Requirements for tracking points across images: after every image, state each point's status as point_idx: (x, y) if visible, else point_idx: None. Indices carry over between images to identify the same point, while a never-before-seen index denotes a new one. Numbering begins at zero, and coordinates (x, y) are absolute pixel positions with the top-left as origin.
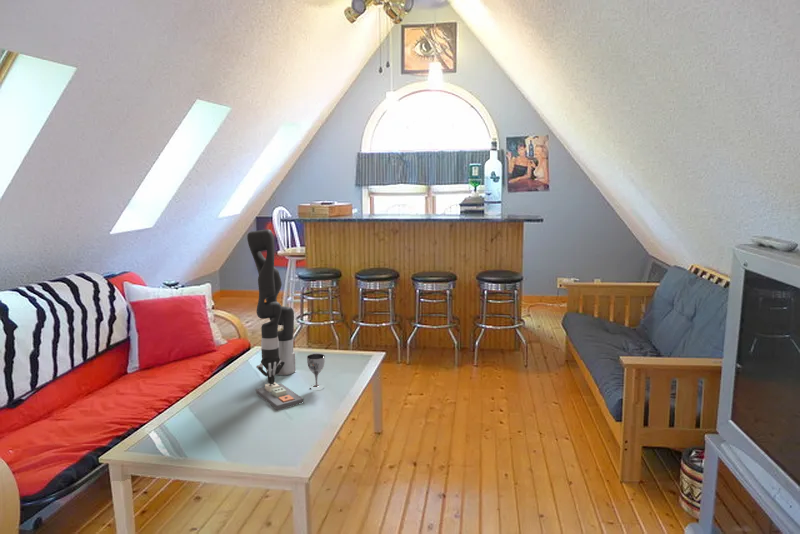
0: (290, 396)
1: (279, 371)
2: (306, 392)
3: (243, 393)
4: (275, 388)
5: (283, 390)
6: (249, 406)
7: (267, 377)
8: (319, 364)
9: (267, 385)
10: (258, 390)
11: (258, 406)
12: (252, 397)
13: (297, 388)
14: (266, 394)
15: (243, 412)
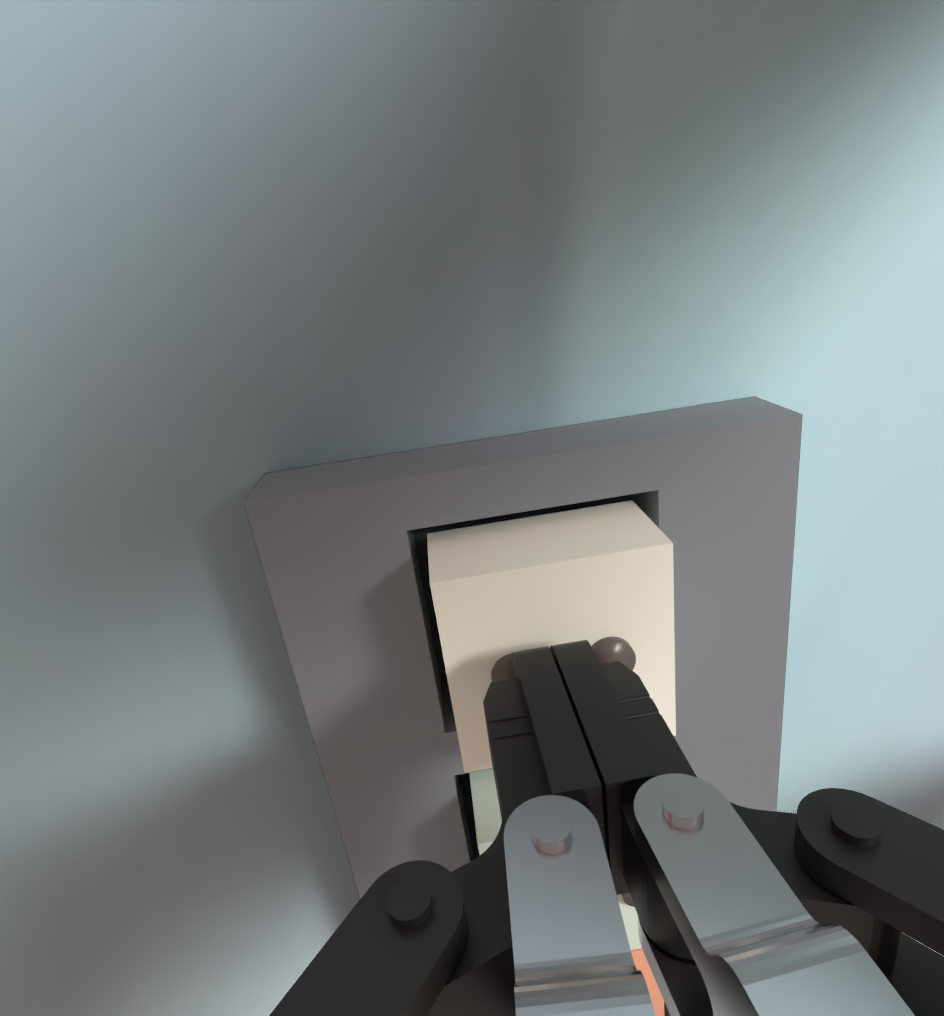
0: (654, 993)
1: (922, 980)
2: (938, 740)
3: (16, 357)
4: None
5: (636, 933)
6: (105, 871)
7: (499, 788)
8: None
9: (466, 653)
10: (283, 587)
11: (226, 903)
12: (178, 610)
13: (935, 564)
14: (380, 795)
15: (17, 985)
